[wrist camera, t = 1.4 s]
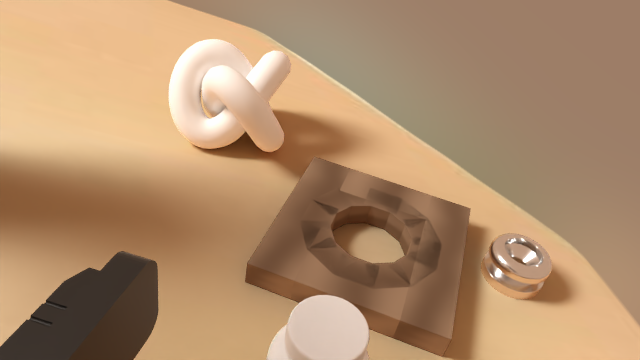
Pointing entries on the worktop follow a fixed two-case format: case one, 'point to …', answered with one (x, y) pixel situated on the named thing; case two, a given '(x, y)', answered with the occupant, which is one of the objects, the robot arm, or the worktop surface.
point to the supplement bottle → (322, 332)
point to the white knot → (226, 95)
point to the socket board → (361, 276)
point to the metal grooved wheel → (516, 266)
